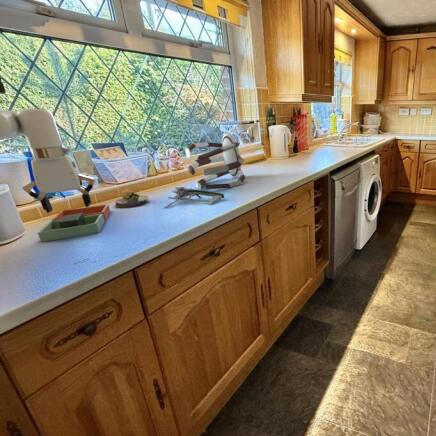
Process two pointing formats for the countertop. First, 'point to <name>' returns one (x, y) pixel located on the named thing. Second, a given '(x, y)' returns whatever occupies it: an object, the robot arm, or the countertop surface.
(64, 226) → the packet
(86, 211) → the far bin
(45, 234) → the near bin
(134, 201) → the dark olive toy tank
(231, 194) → the countertop surface
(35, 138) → the robot arm
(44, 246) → the countertop surface
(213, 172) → the jointed toy figure
